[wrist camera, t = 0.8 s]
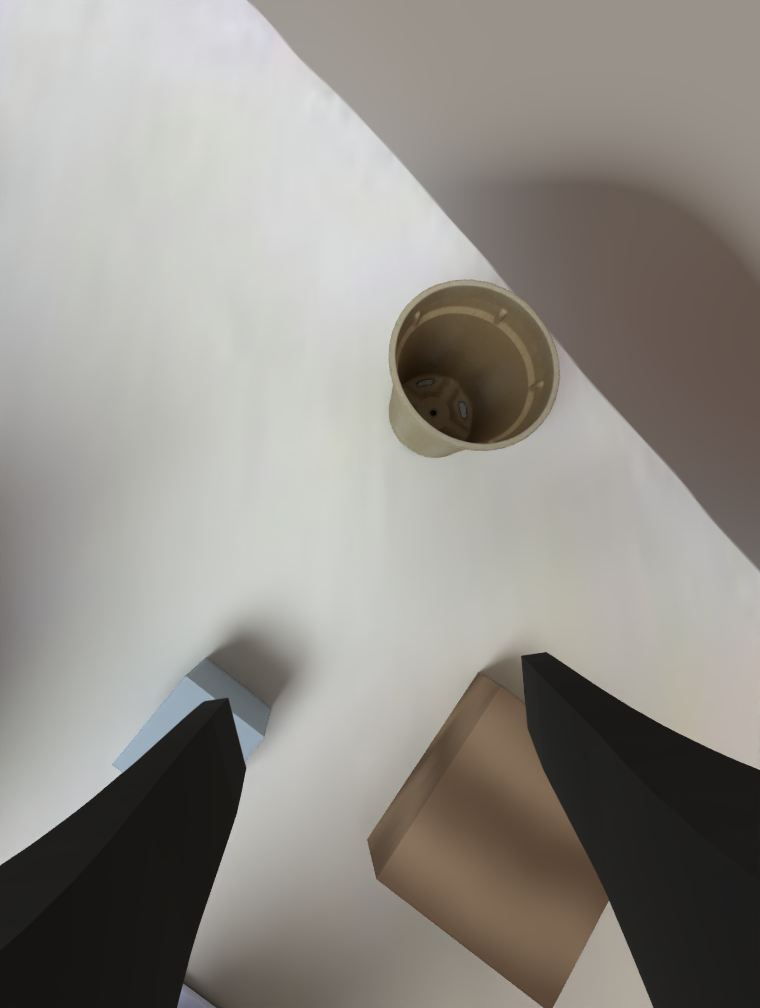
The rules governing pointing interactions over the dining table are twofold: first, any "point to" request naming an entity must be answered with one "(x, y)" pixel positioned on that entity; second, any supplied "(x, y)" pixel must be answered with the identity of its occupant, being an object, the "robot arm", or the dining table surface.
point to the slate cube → (187, 696)
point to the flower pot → (469, 369)
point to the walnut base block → (492, 847)
